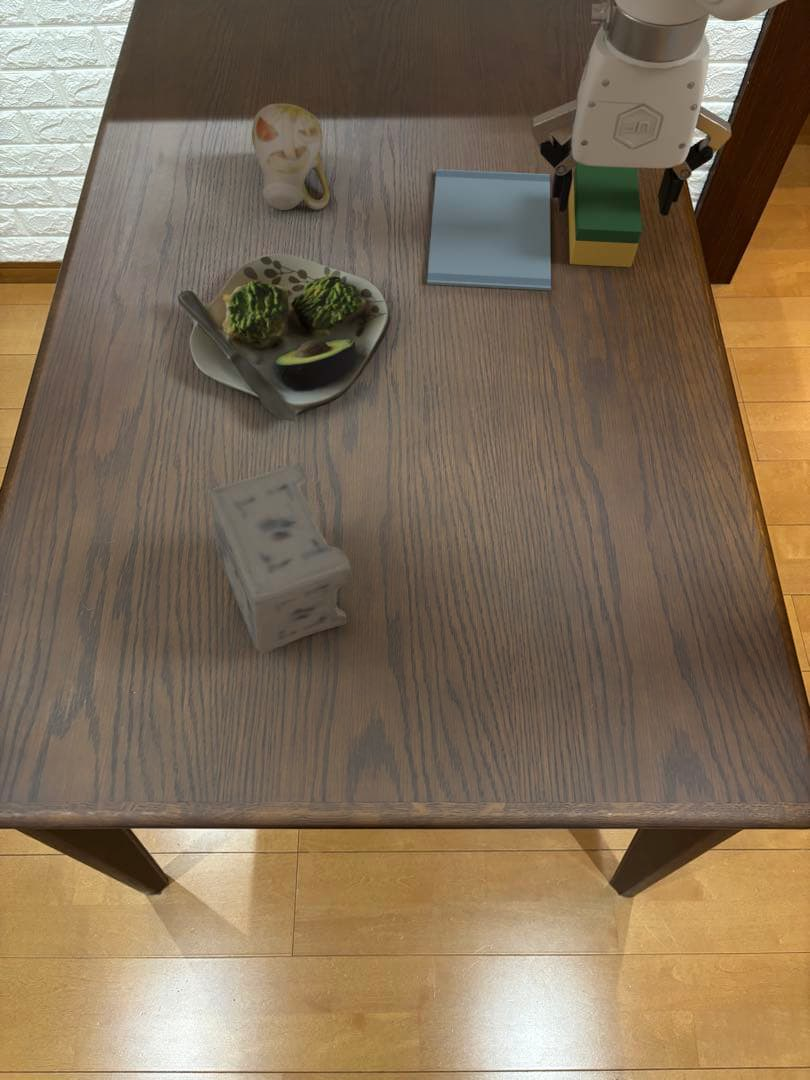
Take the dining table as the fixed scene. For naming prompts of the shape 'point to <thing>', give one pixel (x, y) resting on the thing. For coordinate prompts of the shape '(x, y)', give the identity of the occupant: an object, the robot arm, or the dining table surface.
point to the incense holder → (277, 558)
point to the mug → (288, 155)
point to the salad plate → (288, 332)
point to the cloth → (490, 230)
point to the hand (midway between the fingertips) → (611, 203)
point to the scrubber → (604, 216)
